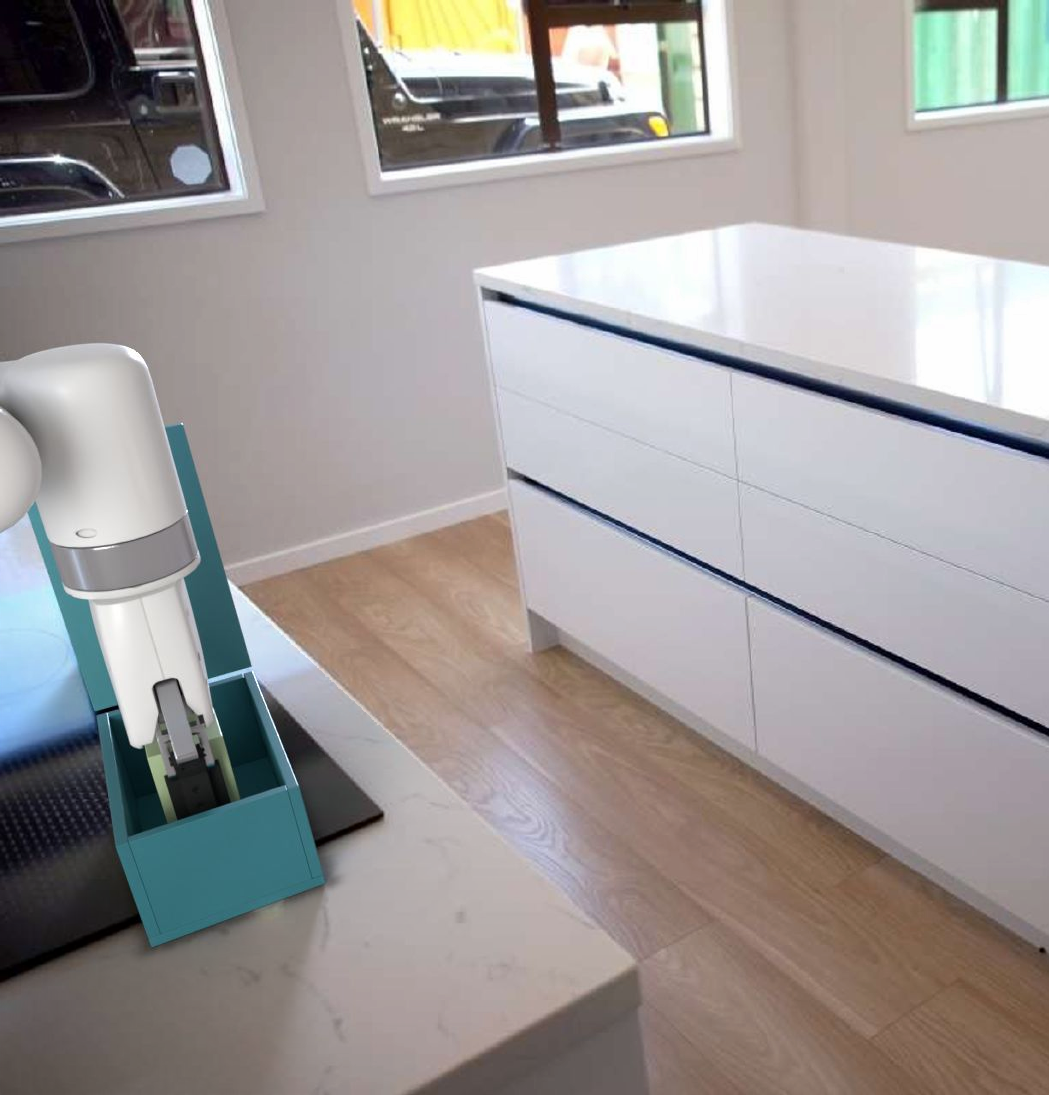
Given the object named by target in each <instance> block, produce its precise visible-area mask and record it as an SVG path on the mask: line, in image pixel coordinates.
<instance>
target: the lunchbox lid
mask: <svg viewBox="0 0 1049 1095" xmlns="http://www.w3.org/2000/svg"><path fill="white" fill-rule="evenodd" d="M164 427H165V430H166V434H167V438H168V442H169V445H170V449H171V453H172V456H173V460H174V464H175V467H176V471H177V474H178V478H179V481H180V485H181V489H182V492H183V496H184V500H185V503H186V507H187V511H188V515H189V518H190V522H191V526H192V529H193V533H194V537H195V540H196V544H197V548H198V551H199V554H200V558H201V559H200V563H199V565H198V566H197V568H196V569H195V570H194V571H192V572H191V573H190V574H188V575H187V576H185V577H184V581H185V585H186V589H187V592H188V596H189V600H190V603H191V607H192V611H193V615H194V619H195V623H196V627H197V631H198V635H199V639H200V643H201V648H202V652H203V657H204V662H205V667H206V672H207V677H208V680H210V679H213V678H218V677H221V676H225V675H228V674H231V673H235V672H238V671H241V670H245V669H249V668H252V667H253V665H252V661H251V658H250V654H249V651H248V647H247V644H246V640H245V637H244V633H243V630H242V626H241V623H240V619H239V616H238V612H237V609H236V605H235V602H234V597H233V594H232V591H231V588H230V584H229V581H228V578H227V574H226V570H225V566H224V563H223V560H222V555H221V553H220V549H219V546H218V545H219V544H218V543H217V542H218V541H217V538H216V535H215V532H214V531H215V530H214V528H213V524H212V520H211V517H210V514H209V511H208V507H207V503H206V499H205V497H204V493H203V489H202V486H201V483H200V478H199V475H198V472H197V468H196V464H195V462H194V461H195V460H194V457H193V454H192V451H191V448H190V444H189V440H188V437H187V433H186V430H185V427H184V424H183V422H178V423H172V424H168V425H164ZM26 514H27V515H28V518H29V522H30V525H31V527H32V530H33V534H34V536H35V540H36V542H37V546H38V549H39V552H40V554H41V557H42V560H43V563H44V566H45V569H46V572H47V575H48V577H49V578H48V579H49V581H50V584H51V586H52V590H53V593H54V596H55V599H56V602H57V604H58V607H59V610H60V613H61V616H62V619H63V622H64V625H65V629H66V631H67V634H68V637H69V639H70V644H71V645H72V650H73V652H74V656H75V658H76V661H77V664H78V667H79V670H80V672H81V676H82V679H83V682H84V685H85V688H86V690H87V693H88V696H89V699H90V701H91V705H92V708H93V711H94V712H98V711H101V710H105V709H109V708H111V707H116V706H119V705H118V702H117V698H116V695H115V692H114V689H113V686H112V682H111V679H110V676H109V673H108V670H107V667H106V663H105V660H104V657H103V654H102V650H101V647H100V644H99V640H98V637H97V634H96V630H95V626H94V622H93V618H92V614H91V610H90V606H89V601H88V599H80V598H75V597H73V596H71V595H68V594H67V593H66V592H65V590H64V587H63V584H62V580H61V577H60V574H59V571H58V568H57V565H56V562H55V559H54V556H53V553H52V550H51V547H50V543H49V540H48V538H47V535H46V532H45V529H44V525H43V522H42V519H41V516H40V513H39V510H38V507H37V504H36V501H34V504H33V505H32V507H31V508H30V509H29V511H28V512H27V513H26Z"/></svg>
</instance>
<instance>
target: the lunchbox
mask: <svg viewBox="0 0 1049 1095" xmlns="http://www.w3.org/2000/svg"><path fill="white" fill-rule="evenodd" d="M208 683H209V689H210V695H211V700H212V707H213V708H214V711H215V714H216V717H217V720H218V723H219V726H220V729H221V733H222V736H223V739H224V743H225V746H226V750H227V753H228V757H229V760H230V764H231V767H232V771H233V774H234V778H235V782H236V785H237V789H238V792H239V796H240V799H241V800H239V801H235V802H232V803H229V804H226V805H223V806H220V807H217V808H214V809H211V810H208V811H205V812H202V813H199V814H196V815H193V816H190V817H187V818H184V819H181V820H178V821H175V822H172V823H169V824H168V823H167V820H166V816H165V813H164V810H163V807H162V804H161V801H160V797H159V794H158V791H157V788H156V785H155V781H154V778H153V775H152V772H151V769H150V766H149V762H148V759H147V754H146V750H145V745H143V748H141V749H138V748H135V747H133V746H132V745H130V742H129V738H128V735H127V732H126V728H125V725H124V721H123V718H122V715H121V711H120V708H118V709H115V710H112V711H108V712H104V713H101V714H97V715H96V721H97V727H98V735H99V741H100V748H101V749H100V750H101V756H102V763H103V769H104V775H105V784H106V789H107V795H108V796H107V797H108V803H109V810H110V818H111V824H112V831H113V838H114V845H115V850H116V852H117V854H118V858H119V860H120V863H121V866H122V868H123V872H124V873H125V877H126V880H127V883H128V886H129V888H130V892H131V894H132V897H133V900H134V902H135V905H136V907H137V911H138V913H139V916H140V920H141V922H142V925H143V928H144V930H145V933H146V936H147V938H148V941H149V945H150V946H151V948H155V947H157V946H160V945H163V944H165V943H168V942H171V941H173V940H176V939H178V938H182V937H184V936H187V935H190V934H192V933H196V932H198V931H201V930H203V929H206V928H208V927H211V926H214V925H217V924H219V923H222V922H225V921H227V920H230V919H233V918H236V917H238V916H241V915H244V914H246V913H249V912H252V911H254V910H255V911H256V910H257V909H260V908H263V907H266V906H268V905H271V904H274V903H276V902H279V901H282V900H285V899H286V898H290V897H292V896H296V895H298V894H300V893H303V892H306V891H310V890H311V889H314V888H317V887H320V886H322V885H325V884H326V878H325V876H324V871H323V868H322V865H321V860H320V857H319V853H318V850H317V845H316V843H315V839H314V835H313V832H312V828H311V824H310V820H309V817H308V813H307V810H306V805H305V802H304V799H303V798H304V797H303V795H302V791H301V788H300V785H299V783H298V782H299V781H298V780H297V777H296V775H295V772H294V770H293V768H292V765H291V763H290V760H289V758H288V755H287V753H286V752H287V751H286V750H285V747H284V745H283V742H282V740H281V738H280V735H279V732H278V730H277V728H276V725H275V722H274V720H273V718H272V714H271V713H270V710H269V707H268V705H267V703H266V700H265V697H264V694H263V693H262V690H261V687H260V685H259V683H258V680H257V677H256V675H255V672H254V671H253V670H251V671H248V672H244V673H240V674H236V675H232V676H230V677H226V678H223V679H219V680H215V681H213V682H208Z"/></svg>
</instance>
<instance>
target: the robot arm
mask: <svg viewBox="0 0 1049 1095" xmlns="http://www.w3.org/2000/svg"><path fill="white" fill-rule="evenodd" d="M151 376H152V375H151V373H150V371H149V366H148V365H147V364H146V362H145V360H144V359H143V357H142V356H141V355H140V354H139V353H138V352H136V350H135V349H132V348H130V347H128V346H125V345H122V344H117V343H116V344H115V343H108V342H107V343H106V342H96V343H95V342H93V343H92V342H91V343H80V344H70V345H65V346H59V347H54V348H49V349H45V350H41V351H37V352H34V353H31V354H28V355H25V356H23V357H21V358H19V359H16V360H9V361H8V360H7V361H6V360H5V361H0V534H2V533H3V532H5V531H7V530H8V529H10V528H12V527H14V526H15V525H16V524H17V523H18V522H20V520H22V519H23V518H24V517H25V516H26V515H27V514H28V513H27V512H28V511H29V509H30V508H31V507H32V505H33V504H34V501H36V504H37V507H38V510H39V513H40V516H41V519H42V522H43V525H44V529H45V532H46V535H47V538H48V540H49V543H50V547H51V550H52V553H53V556H54V559H55V562H56V565H57V568H58V571H59V574H60V577H61V580H62V584H63V587H64V590H65V592H66V593H67V594H68V595H71V596H73V597H75V598H80V599H88V601H89V606H90V610H91V614H92V618H93V622H94V626H95V630H96V634H97V637H98V640H99V644H100V647H101V650H102V654H103V657H104V660H105V663H106V667H107V670H108V673H109V676H110V679H111V682H112V686H113V689H114V692H115V695H116V698H117V702H118V705H117V706H118V709H120V711H121V715H122V718H123V721H124V725H125V728H126V732H127V735H128V738H129V742H130V745H132V746H133V747H135V748H138V749H141V748H143V745H147V744H150V743H153V739H154V735H156V741H157V743H158V745H159V748H160V752H161V755H162V758H163V762H164V765H165V768H166V772H167V775H165V776H164V779H165V782H166V785H167V789H168V792H169V795H170V798H171V801H172V805H173V808H174V811H175V814H176V818H177V821H178V820H181V819H184V818H187V817H190V816H193V815H196V814H199V813H202V812H205V811H208V810H211V809H214V808H217V807H220V806H223V805H226V804H229V803H231V801H230V798H229V794H228V791H227V788H226V784H225V781H224V777H223V774H222V770H221V767H220V763H219V760H218V759H217V760H214V758H213V755H212V751H211V748H210V744H209V741H208V737H207V734H206V730H205V729H206V728H207V729H208V728H209V727H210V726H211V725H212V723H213V722H214V714H213V707H212V700H211V695H210V689H209V683H210V682H209V679H208V677H207V672H206V667H205V662H204V657H203V652H202V648H201V643H200V639H199V635H198V631H197V627H196V623H195V619H194V615H193V611H192V607H191V603H190V600H189V596H188V592H187V589H186V585H185V581H184V577H185V576H187V575H188V574H190V573H191V572H192V571H194V570H195V569H196V568H197V566H198V565H199V563H200V559H201V558H200V554H199V551H198V548H197V544H196V540H195V537H194V533H193V529H192V526H191V522H190V518H189V515H188V511H187V507H186V503H185V500H184V496H183V492H182V489H181V485H180V481H179V478H178V474H177V471H176V467H175V464H174V460H173V456H172V453H171V449H170V445H169V442H168V438H167V434H166V430H165V427H164V426H165V424H164V419H163V416H162V413H161V409H160V405H159V401H158V398H157V394H156V390H155V386H154V382H153V379H152V377H151ZM193 713H194V715H195V719H196V721H193V722H190V723H189V722H188V718H187V717H189V716H192V715H193ZM159 723H160V724H159ZM164 723H166V727H167V729H166V730H162V731H161V727H160V725H161V724H164ZM205 725H206V727H205ZM196 734H197V735H198V739H199V742H200V745H199V743H198V744H195V742H194V739H193V736H192V735H196ZM169 742H171V744H172V748H173V751H170V748H169V744H168V743H169Z"/></svg>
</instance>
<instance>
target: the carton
mask: <svg viewBox="0 0 1049 1095" xmlns="http://www.w3.org/2000/svg"><path fill="white" fill-rule="evenodd" d="M213 714H214V722H213V723H212V725H211V726H210V727H209V728H208V729H207V728H206V729H205V730H206V734H207V737H208V741H209V744H210V748H211V751H212V755H213V758H214V760H217V759H218V760H219V763H220V767H221V770H222V774H223V777H224V781H225V784H226V788H227V791H228V794H229V798H230V801H231V803H232V802H235V801H239V800H241V799H240V796H239V792H238V789H237V785H236V782H235V778H234V774H233V771H232V767H231V764H230V760H229V757H228V753H227V750H226V746H225V743H224V739H223V736H222V733H221V729H220V726H219V723H218V720H217V717H216V714H215V711H214V708H213ZM187 718H188V722H189V723H190V722H193V721H196V719H195V715H194V713H193V715H192V716H189V717H187ZM159 724H160V723H159ZM160 727H161V731H162V730H166V729H167V727H166V723H164V724H161V725H160ZM205 727H206V725H205ZM192 736H193V739H194V742H195V744H198V743H199V745H200V742H199V739H198V735H197V734H196V735H192ZM168 744H169V748H170V751H173V748H172V744H171V742H169V743H168ZM145 750H146V754H147V759H148V762H149V766H150V769H151V772H152V775H153V778H154V781H155V785H156V788H157V791H158V794H159V797H160V801H161V804H162V807H163V810H164V813H165V816H166V820H167V823H168V824H169V823H172V822H175V821H177V818H176V814H175V811H174V808H173V805H172V801H171V798H170V795H169V792H168V789H167V785H166V782H165V779H164V776H165V775H167V772H166V768H165V765H164V762H163V758H162V755H161V752H160V748H159V745H158V743H157V741H156V735H154V739H153V743H150V744H147V745H145Z"/></svg>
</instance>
